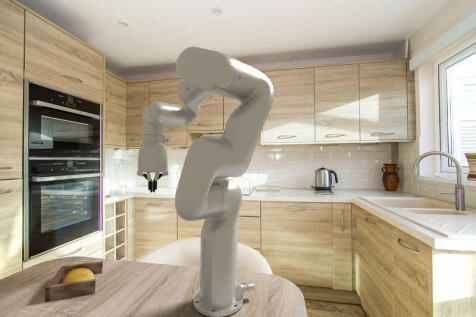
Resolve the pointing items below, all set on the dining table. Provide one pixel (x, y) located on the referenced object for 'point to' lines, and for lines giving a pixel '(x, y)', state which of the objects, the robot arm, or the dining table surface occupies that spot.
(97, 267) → the brown u-shaped frame
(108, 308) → the dining table surface
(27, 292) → the dining table surface
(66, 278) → the bread roll
